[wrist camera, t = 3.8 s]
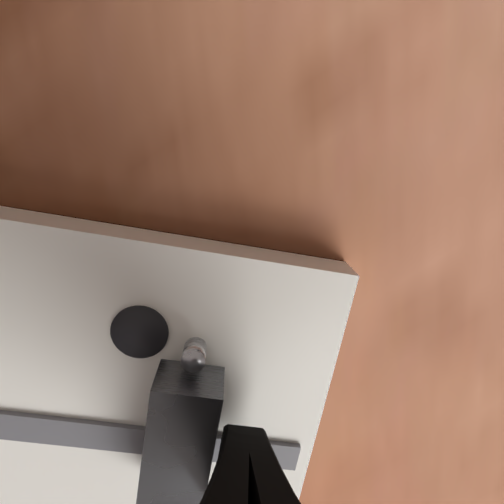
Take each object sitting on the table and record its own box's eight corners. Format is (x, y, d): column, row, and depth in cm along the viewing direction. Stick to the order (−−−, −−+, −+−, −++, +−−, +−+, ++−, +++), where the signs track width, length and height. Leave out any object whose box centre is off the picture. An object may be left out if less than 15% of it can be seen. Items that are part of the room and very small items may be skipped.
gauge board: (-176, 459, 14) (-229, 499, 13) (-219, 170, 12) (-294, 174, 10) (283, 503, 16) (288, 544, 14) (345, 261, 13) (361, 278, 12)
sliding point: (144, 485, 13) (132, 531, 11) (164, 332, 11) (153, 361, 10) (202, 491, 13) (197, 536, 12) (229, 341, 12) (228, 371, 10)
